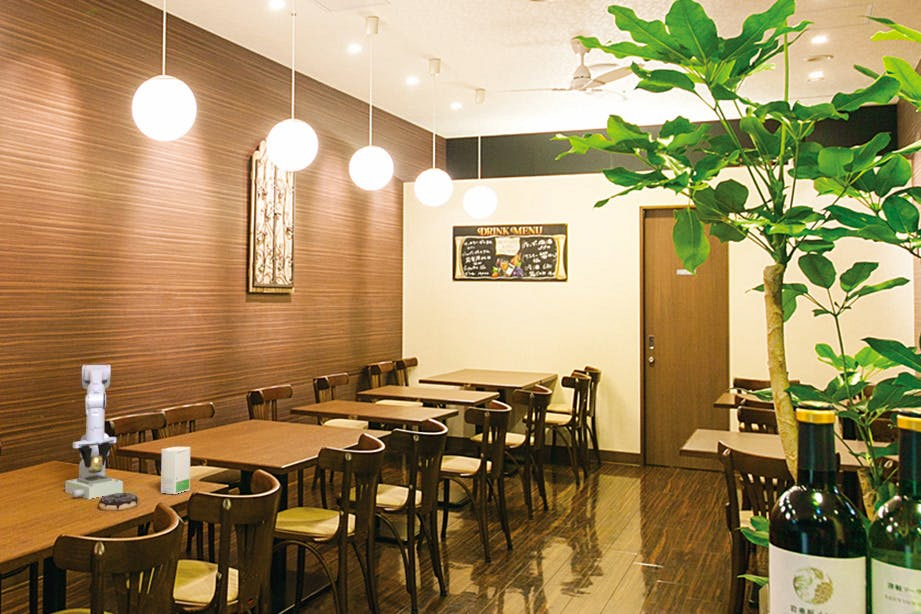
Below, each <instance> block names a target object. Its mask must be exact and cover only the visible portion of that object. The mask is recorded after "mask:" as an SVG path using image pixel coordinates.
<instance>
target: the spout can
mask: <svg viewBox="0 0 921 614" xmlns="http://www.w3.org/2000/svg"><path fill="white" fill-rule="evenodd" d="M102 460H103V458H102V455H91V459H90V467H89V468H88V472H89V473H98V472H102Z"/></svg>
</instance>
